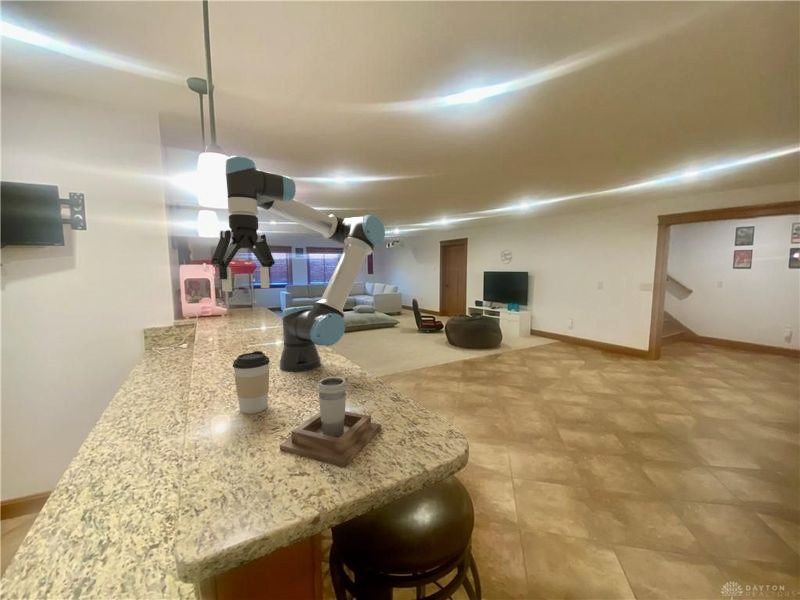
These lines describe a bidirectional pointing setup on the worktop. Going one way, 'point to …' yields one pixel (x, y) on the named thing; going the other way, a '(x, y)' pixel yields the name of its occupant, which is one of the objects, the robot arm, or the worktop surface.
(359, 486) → the worktop surface
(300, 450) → the holder
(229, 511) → the worktop surface
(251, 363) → the coffee cup
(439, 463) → the worktop surface
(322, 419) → the cup
